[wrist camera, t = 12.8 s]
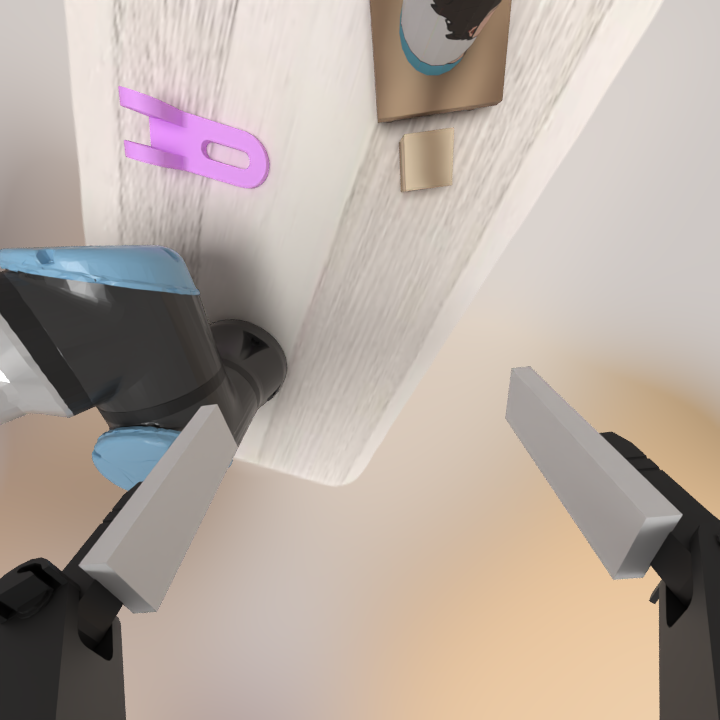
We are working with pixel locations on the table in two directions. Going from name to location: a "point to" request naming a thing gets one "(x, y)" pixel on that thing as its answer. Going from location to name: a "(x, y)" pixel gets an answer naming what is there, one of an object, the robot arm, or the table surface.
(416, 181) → the oak block
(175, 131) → the bracket
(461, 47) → the printed can
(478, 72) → the stand
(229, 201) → the table surface
